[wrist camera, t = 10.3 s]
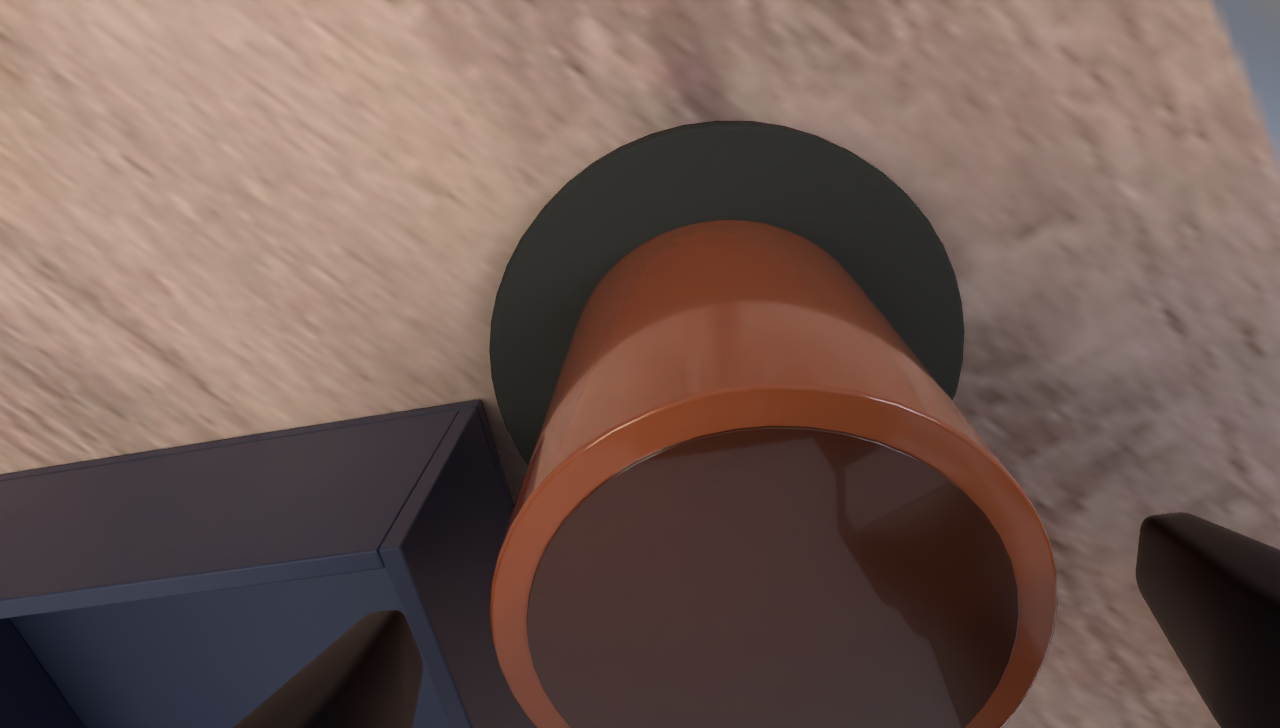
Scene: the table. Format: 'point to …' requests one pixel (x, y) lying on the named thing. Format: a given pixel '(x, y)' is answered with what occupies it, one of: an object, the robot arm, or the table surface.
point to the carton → (252, 572)
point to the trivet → (709, 191)
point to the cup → (762, 513)
